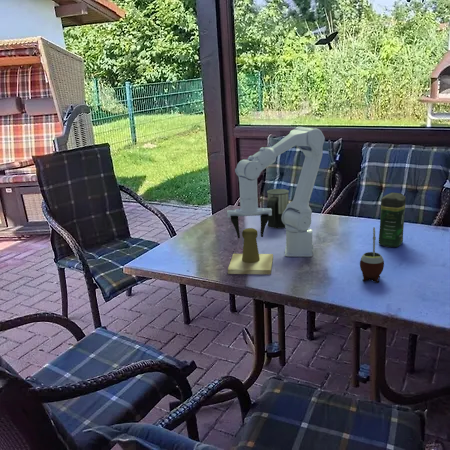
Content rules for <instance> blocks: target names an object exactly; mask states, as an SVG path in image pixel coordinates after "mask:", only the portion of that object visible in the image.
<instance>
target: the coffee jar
mask: <svg viewBox="0 0 450 450" xmlns="http://www.w3.org/2000/svg"><path fill="white" fill-rule="evenodd" d="M406 200H407V197H406V196H405V195H404V194H402V193H400V192H399V193H398V192H390V193H388V194H386V195H384V196H383V197H382V198H381V199H380V201H381V202H380V219H379V220H380V221H379V232H378V234H379V236H378V244H379V246H380V245H381V246H384V247H385V248H398V247H400V246H401V245H402V243H403V241H404V225H405V213H406V203H407V201H406Z"/></svg>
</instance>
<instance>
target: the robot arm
mask: <svg viewBox="0 0 450 450" xmlns="http://www.w3.org/2000/svg"><path fill="white" fill-rule="evenodd" d="M325 138H326V136H324V133H323V132H322V130H321V128H320V129H319V128H312V127H311V128H310V127H304V126H297V127H295V128H293V129H292V130H290V132H289V134H287V135H286V136H284V137H282V139H280V140H279V141H278V142H277V143H275V144H273V146H271V147H267V146H265V147H263V146H262V147H260V148H259V150H258V151H257V152H255V153H253V155H249V156H248V157H247V159H241V160H240V161H239V162H237V165H236V168H235V169H234V170H235V171H234V172H235V174H236V176H237V177H238V183H239V207H240V208H237V209H230V210H229V209H228V210H226V214H227V216H226V218H228V219H229V218H230V222H231V223H232V225H233V227H234V229H235V231H236V235H237V239H240V238H241V235H240V225H239V224H240V223H239V217H254V216H259V217H260V232H259V233H260V237H261V238H264V232H265V229H266V226H267V224H268V219H269V216H271V215H272V209H271V208H267V207H265V208H264V207H259V201H258V178H259V177H260V175H261V173H262V171H263V170H266V169H267V168H269V166H271V165H273V164H274V163H275V162H276V160H277V157H278V156H280V155H282V154H284V153H286V151H288V150H291V148H294V147H298V149H299V150H301V152H302V153H303V156H304V161H303V164H302V168H301V171H300V174H299V178H298V182H297V184H296V189H295V192H294V196H293V199H292V200H291V201H290V202H288V204H287V207H286V209H285V211H284V212H283V214H282V222H283V224H285V249H284V257H297V258H299V257H301V258H303V257H307V258H308V257H310V258H311V257H313V250H314V244H313V228H310V227H311V224H312V215H313V210H312V208H311V207H310V205H309V203H310V199H311V197H312V193H313V191H314V188H315V187H314V186H315V183H316V179H317V176H318V172H319V168H320V166H321V162H322V158H323V146H324V143H325V141H326V139H325ZM268 215H269V216H268Z"/></svg>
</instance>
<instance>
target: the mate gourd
mask: <svg viewBox="0 0 450 450" xmlns="http://www.w3.org/2000/svg"><path fill="white" fill-rule="evenodd" d="M372 234H373V235H372V251H367V252H365V253H363V254H362V255H361V257H360V260H359V268H360V272H362V273H361V274H362V282H370V281H372V282H373V283H376V284H379V282H380V281H379V278H381V275H382V273H383V270H384V267H385V260H384V257H383V255H382V254H380V253H378V252H376V228H375V227H373V228H372Z"/></svg>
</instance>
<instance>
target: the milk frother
mask: <svg viewBox="0 0 450 450" xmlns="http://www.w3.org/2000/svg"><path fill="white" fill-rule="evenodd" d="M266 193H267V205H266V208H271V209H272V215H271V216H269V215H268V216H269V219H268V222H267V224H266V226H267V227H269V228H272V229H284V228H285V224H283V222H282V214H283V212H284V211H285V209H286V207H287V204H289V193H290V190H288V189H286V188H274V189H272V188H270V189H269V190H267V191H266ZM285 229H286V228H285Z"/></svg>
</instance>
